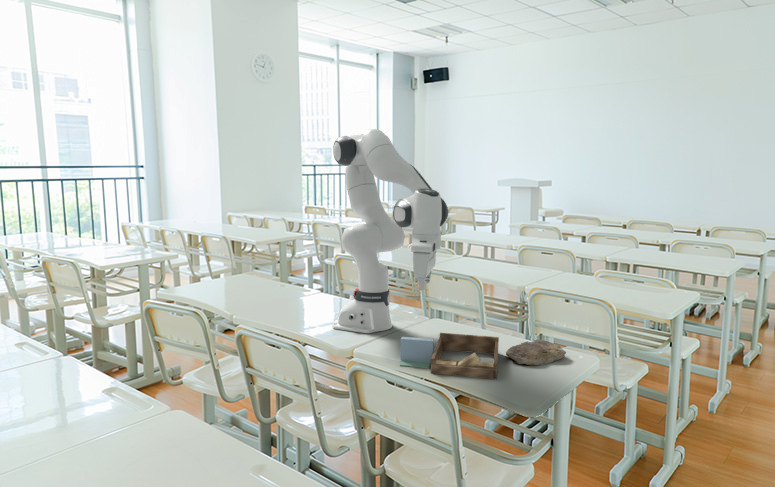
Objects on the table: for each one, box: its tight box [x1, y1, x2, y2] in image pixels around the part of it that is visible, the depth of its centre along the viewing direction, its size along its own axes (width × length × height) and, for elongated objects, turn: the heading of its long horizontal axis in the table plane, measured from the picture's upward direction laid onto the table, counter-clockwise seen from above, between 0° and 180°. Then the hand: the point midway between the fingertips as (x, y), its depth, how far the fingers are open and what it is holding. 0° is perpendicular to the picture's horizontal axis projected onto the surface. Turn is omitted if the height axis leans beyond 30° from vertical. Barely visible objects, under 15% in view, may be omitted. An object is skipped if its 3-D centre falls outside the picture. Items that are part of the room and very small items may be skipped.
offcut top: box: [458, 352, 481, 367], centre depth 161 cm, size 6×3×2 cm
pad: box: [399, 360, 431, 369], centre depth 169 cm, size 9×9×1 cm
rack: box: [430, 332, 500, 380], centre depth 168 cm, size 19×22×6 cm
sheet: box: [399, 336, 435, 363], centre depth 168 cm, size 10×2×7 cm, turn 78°
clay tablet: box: [505, 339, 567, 366], centre depth 174 cm, size 14×5×20 cm
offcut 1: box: [435, 360, 457, 366], centre depth 163 cm, size 6×3×2 cm, turn 77°
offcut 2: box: [473, 361, 494, 369], centre depth 162 cm, size 6×3×2 cm, turn 78°
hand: (424, 286), depth 169 cm, fingers open, 8 cm apart
